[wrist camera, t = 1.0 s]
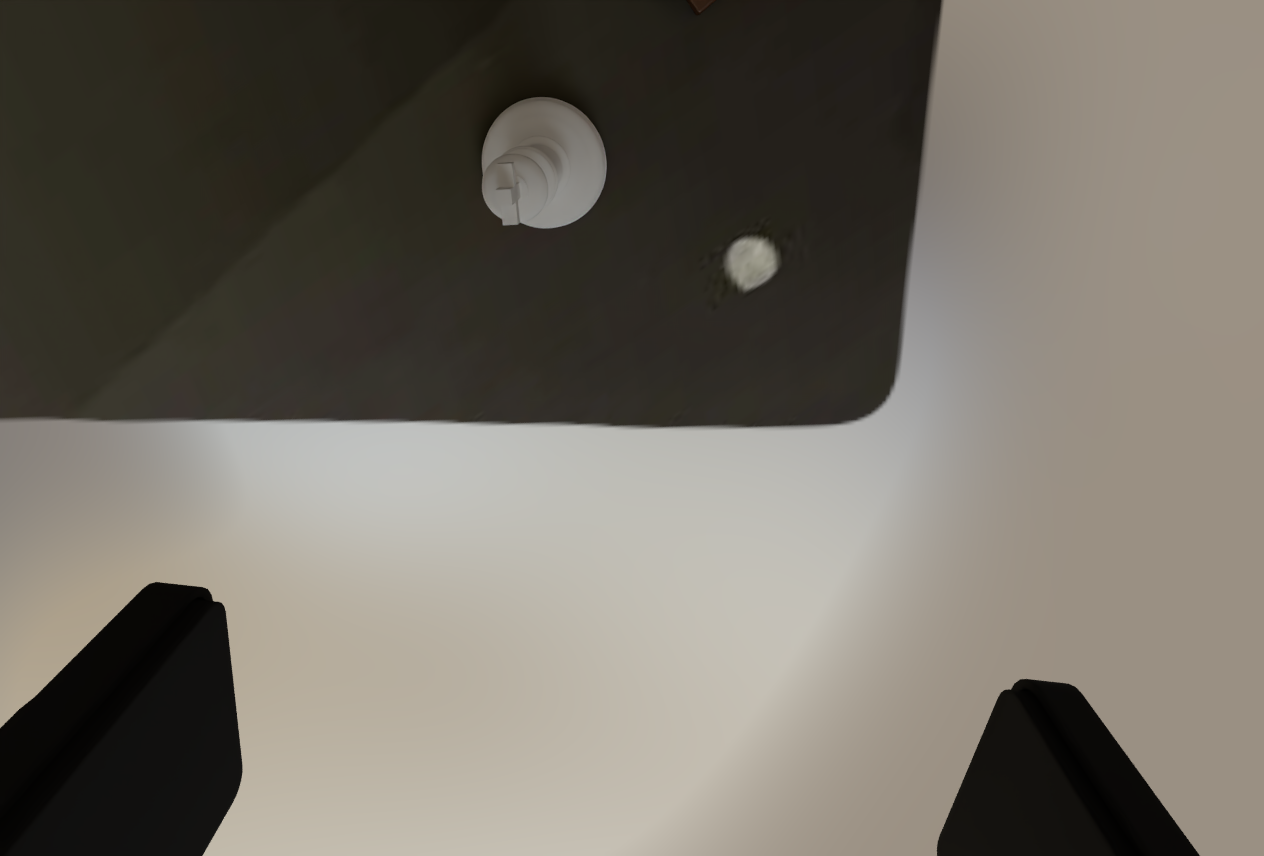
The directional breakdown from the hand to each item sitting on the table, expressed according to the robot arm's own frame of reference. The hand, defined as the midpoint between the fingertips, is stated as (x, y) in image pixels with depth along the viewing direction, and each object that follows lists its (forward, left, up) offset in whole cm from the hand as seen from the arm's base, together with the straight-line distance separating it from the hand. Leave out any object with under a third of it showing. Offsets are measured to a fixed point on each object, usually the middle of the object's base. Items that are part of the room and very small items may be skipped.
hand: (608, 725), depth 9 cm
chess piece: (-6, 0, -25) cm, 26 cm away
